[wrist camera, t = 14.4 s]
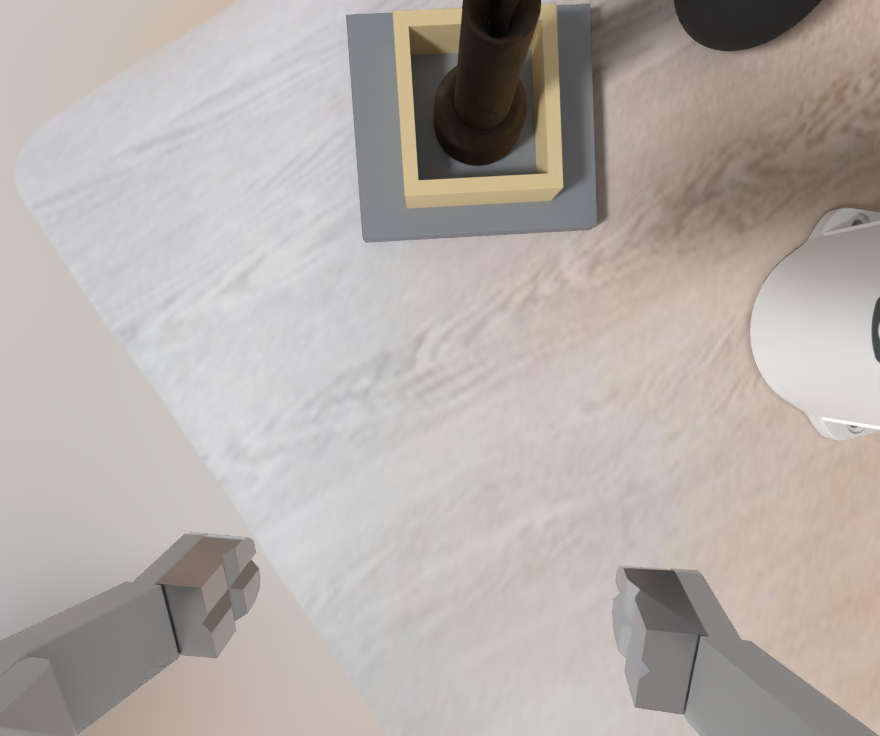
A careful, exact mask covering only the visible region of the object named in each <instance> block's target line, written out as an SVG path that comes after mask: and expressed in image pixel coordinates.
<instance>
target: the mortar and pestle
mask: <svg viewBox="0 0 880 736" xmlns="http://www.w3.org/2000/svg"><path fill="white" fill-rule="evenodd" d="M540 12H541V0H463V6H462V18H461V29H460V40H459V51H458V62H457V66H456V67H454V68H453V69H451V70H450V71H449V72H448V73H447V74H446V76H445V77H444V78H443V80H442V81H441V83H440V85H439V87H438V89H437V92H436V95H435V100H434V116H433V123H434V131H435V135H436V138H437V140H438V142H439V144H440V146H441V147H442V149H443V150H444V151H445V152H446V153H447V154H448V155H449V156H450V157H452V158H453V159H455V160H456V161H458V162H461V163H463V164H466V165H471V166H483V165H488V164H492V163H494V162H496V161H498V160H500V159H501V158H503V157H504V156H505V155H507V154H508V153H509V152H510V150H511V149H512V148H513V147H514V145H515V144H516V142H517V140H518V138H519V136H520V133H521V130H522V127H523V125H524V122H525V119H526V114H527V96H526V92H525V88H524V86H523V84H522V82H521V80H520V79H519V78H520V74H521V71H522V68H523V65H524V62H525V59H526V56H527V52H528V49H529V46H530V43H531V41H532V38H533V35H534V32H535V29H536V26H537V23H538V20H539V16H540Z"/></svg>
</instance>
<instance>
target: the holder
mask: <svg viewBox="0 0 880 736" xmlns="http://www.w3.org/2000/svg"><path fill="white" fill-rule="evenodd" d="M461 18H462V8H451V9H429V10H406V11H393V13H377V14H354V15H346V21H347V34H348V48H349V61H350V75H351V88H352V102H353V115H354V129H355V142H356V156H357V169H358V183H359V196H360V210H361V223H362V236H363V240H364V241H365V242H382V241H400V240H418V239H435V238H453V237H471V236H488V235H506V234H524V233H541V232H559V231H577V230H590V229H592V228H593V227H595V226H596V225H597V203H596V171H595V140H594V108H593V77H592V45H591V14H590V4H579V5H557V6H556V4H542V5H541V12H540V16H539V20H538V23H537V26H536V29H535V32H534V35H533V38H532V41H531V43H530V46H529V49H528V52H527V56H526V59H525V62H524V65H523V68H522V71H521V74H520V78H519V79H520V80H521V82H522V84H523V86H524V88H525V92H526V96H527V114H526V119H525V122H524V125H523V127H522V130H521V133H520V136H519V138H518V140H517V142H516V144H515V145H514V147H513V148H512V149H511V150H510V152H509V153H508V154H507V155H505V156H504V157H503V158H501V159H500V160H498V161H496V162H494V163H492V164H488V165H483V166H471V165H466V164H463V163H461V162H458V161H456V160H455V159H453V158H452V157H450V156H449V155H448V154H447V153H446V152H445V151H444V150H443V149H442V147H441V146H440V144H439V142H438V140H437V138H436V135H435V131H434V123H433V116H434V100H435V95H436V92H437V89H438V87H439V85H440V83H441V81H442V80H443V78H444V77H445V76H446V74H447V73H448V72H449V71H450V70H451V69H453V68H454V67H456V66H457V62H458V51H459V40H460V29H461Z"/></svg>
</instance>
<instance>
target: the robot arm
mask: <svg viewBox="0 0 880 736" xmlns="http://www.w3.org/2000/svg"><path fill="white" fill-rule="evenodd" d="M852 224H853V225H854V226H852ZM750 338H751V346H752V352H753V355H754V359H755V362H756V364H757V367H758V369H759V371H760V373H761V375H762V376H763V378H764V379H765V381H766V382H767V383H768V385H769V386H770V387H771V388H772V389H773V390H774V391H775V392H776V393H777V394H778V395H779V396H780V397H782V398H783V399H784V400H786V401H787V402H789V403H791V404H792V405H794V406H796V407H797V408H799V409H800V410H802V411H803V412H804V413H805V414H807V416H808V418H809V419H810V421H811V422H812V424H813V425H814V427H815V428H816V429H817V431H818V432H819V433H820V434H821V435H822V436H823V437H825V438H827V439H833V440H839V441H843V440H848V439H852V438H856V437H859V436H863V435H867V434H871V433H874V432H878V431H880V212H874V211H868V210H861V209H855V208H840V209H835V210H831V211H829V212H827V213H826V214H825V215H824V216H823V217H822V218H821V219H820V221H819V222H818V223H817V225H816V226H815V228H814V230H813V231H812V233H811V235H810V236H809V238H808V240H807V241H806V242H805V243H804V244H803V245H801V246H800V247H799V248H798V249H796V250H795V251H794V252H792V253H791V254H790V255H788V256H787V257H786V258H785V259H783V260H782V261H781V262H780V263H779V264H778V265H777V266H776V267H775V268H774V270H773V271H772V272H771V273H770V275H769V276H768V277H767V279H766V280H765V282H764V284H763V285H762V287H761V289H760V291H759V293H758V296H757V298H756V301H755V304H754V308H753V312H752V317H751V325H750ZM255 553H256V550H255V545H254V541H253V540H252V539H250V538H248V537H239V536H229V535H220V534H206V533H195V532H190V533H187V534H184V535H183V536H182V537H181V538H180V539H178V540H177V541H176V542H175V543H174V544H173V545H172V546H171V547H170V548H169V549H168V550H167V551H166V552H164V553H163V554H162V555H161V556H160V557H159V558H158V559H157V560H156V561H155V562H154V563H153V564H152V565H150V566H149V567H148V568H147V569H146V570H145V571H144V572H143V573H142V574H141V575H140V576H139V577H137V578H136V579H135V580H134V581H133V582H124V583H122V584H120V585H118V586H116V587H114V588H112V589H110V590H107V591H105V592H103V593H101V594H99V595H97V596H95V597H93V598H90V599H88V600H86V601H84V602H82V603H80V604H78V605H75V606H73V607H71V608H69V609H67V610H65V611H63V612H60V613H58V614H56V615H54V616H52V617H50V618H48V619H46V620H43V621H42V622H39V623H37V624H35V625H33V626H31V627H29V628H26V629H25V630H22V631H20V632H18V633H16V634H14V635H11V636H10V637H7V638H5V639H3V640H1V641H0V736H78V734H79V733H80V732H82V731H83V730H84V729H86V728H87V727H88V726H89V725H91V724H92V723H93V722H95V721H96V720H97V719H99V718H100V717H101V716H103V715H104V714H105V713H106V712H108V711H109V710H110V709H112V708H113V707H115V706H116V705H117V704H119V703H120V702H121V701H122V700H124V699H125V698H126V697H128V696H129V695H130V694H132V693H133V692H134V691H136V690H137V689H138V688H140V687H141V686H142V685H144V684H145V683H146V682H148V681H149V680H150V679H151V678H153V677H154V676H155V675H157V674H158V673H159V672H160V671H162V670H163V669H165V668H166V667H167V666H169V665H170V664H171V663H173V662H174V661H175V660H177V659H178V658H179V655H185V656H197V657H210V658H218V656H219V655H220V653H221V652H222V650H223V649H224V647H225V646H226V644H227V643H228V642H229V640H230V639H231V637H232V635H233V634H234V633H235V631H236V623H235V621H236V620H238V619H239V618H241V617H242V616H244V615H245V614H247V613H248V612H249V610H250V609H251V607H252V606H253V604H254V602H255V600H256V597H257V594H258V591H259V588H260V572H259V568H258V567H257V566H256V564H255V563H254V562H253V561H252V560H251V559H252V558H253V556H254V555H255ZM616 584H617V587H618V590H619V594H618V595H617V596H616V597H615V598H614V599H613V611H612V614H613V629H614V634H615V639H616V643H617V647H618V651H619V652H620V653H621V654H622V655H623V656H624V657H625V658H626V665H625V675H626V679H627V682H628V686H629V689H630V692H631V696H632V699H633V703H634V706H635V708H642V709H649V710H656V711H662V712H669V713H676V714H683V715H685V719H686V720H687V721H688V722H689V723H690V725H691V726H692V727H693V728H694V729H695V730H696V732H697V733H698V734H699V735H700V736H879V735H877V734H876V733H874V732H873V731H872V730H870V729H869V728H868V727H866V726H865V725H864V724H862V723H861V722H860V721H858V720H857V719H856V718H854V717H853V716H851V715H850V714H849V713H847V712H846V711H845V710H843V709H842V708H841V707H839V706H838V705H837V704H835V703H834V702H833V701H831V700H830V699H828V698H827V697H826V696H824V695H823V694H822V693H820V692H819V691H818V690H816V689H815V688H814V687H812V686H811V685H809V684H808V683H807V682H805V681H804V680H803V679H801V678H800V677H799V676H797V675H796V674H795V673H793V672H792V671H791V670H789V669H788V668H786V667H785V666H784V665H782V664H781V663H780V662H778V661H777V660H776V659H774V658H773V657H772V656H770V655H769V654H768V653H766V652H765V651H763V650H762V649H761V648H759V647H758V646H757V645H755V644H754V643H753V642H751V641H746V640H742V639H741V638H740V636H739V634H738V633H737V631H736V629H735V628H734V626H733V625H732V623H731V621H730V620H729V618H728V616H727V615H726V613H725V611H724V610H723V608H722V606H721V605H720V603H719V601H718V600H717V598H716V597H715V595H714V593H713V592H712V590H711V588H710V587H709V585H708V583H707V582H706V580H705V578H704V577H703V575H702V574H701V573H700V572H699V571H697V570H686V569H660V568H645V567H631V566H619V567H618V570H617V574H616Z"/></svg>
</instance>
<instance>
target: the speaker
mask: <svg viewBox="0 0 880 736" xmlns="http://www.w3.org/2000/svg"><path fill="white" fill-rule="evenodd" d="M820 2H821V0H674V5H675V9H676V13H677V16H678V19H679V21H680V23H681V25H682V26H683V28H684V29H685V31H686V32H687V33H688V34H689V36H690V37H692V38H693V39H694V40H695V41H697V42H698V43H700V44H701V45H703V46H706V47H708V48H711V49H715V50H721V51H737V50H743V49H748V48H752V47H755V46H758V45H761V44H763V43H766V42H768V41H770V40H772V39H774V38H776V37H778V36H780V35H781V34H783V33H784V32H786V31H788V30H789V29H790V28H792V27H793V26H795V25H796V24H797V23H798V22H800V21H801V20H802V19H803V18H804V17H806V16H807V15H808V14H809V13H810V12H811V11H812V10H813V9H814V8H815V7H816V6H817V5H818V4H819V3H820Z"/></svg>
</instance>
